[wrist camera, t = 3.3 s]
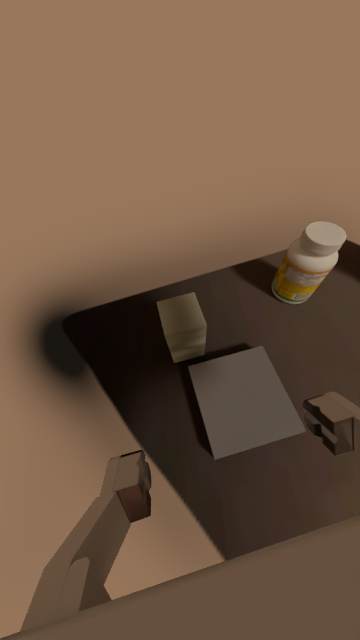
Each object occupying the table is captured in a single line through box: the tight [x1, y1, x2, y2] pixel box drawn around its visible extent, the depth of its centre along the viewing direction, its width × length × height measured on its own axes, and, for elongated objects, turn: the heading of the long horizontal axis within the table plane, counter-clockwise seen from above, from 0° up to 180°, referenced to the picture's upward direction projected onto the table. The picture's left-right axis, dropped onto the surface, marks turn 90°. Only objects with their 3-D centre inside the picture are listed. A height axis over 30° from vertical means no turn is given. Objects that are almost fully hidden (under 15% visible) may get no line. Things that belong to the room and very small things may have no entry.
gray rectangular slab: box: [188, 346, 306, 460], centre depth 21 cm, size 9×9×2 cm
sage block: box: [157, 292, 207, 363], centre depth 23 cm, size 4×4×8 cm
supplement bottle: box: [272, 221, 347, 304], centre depth 25 cm, size 5×5×10 cm
